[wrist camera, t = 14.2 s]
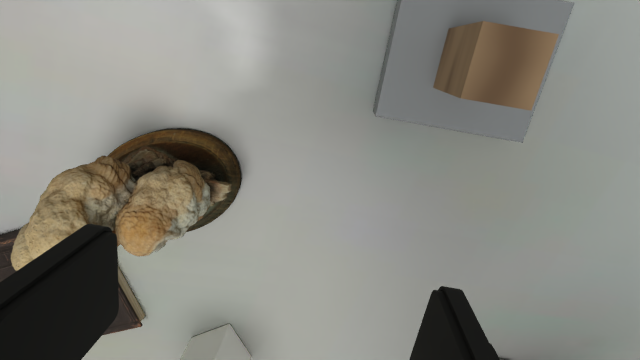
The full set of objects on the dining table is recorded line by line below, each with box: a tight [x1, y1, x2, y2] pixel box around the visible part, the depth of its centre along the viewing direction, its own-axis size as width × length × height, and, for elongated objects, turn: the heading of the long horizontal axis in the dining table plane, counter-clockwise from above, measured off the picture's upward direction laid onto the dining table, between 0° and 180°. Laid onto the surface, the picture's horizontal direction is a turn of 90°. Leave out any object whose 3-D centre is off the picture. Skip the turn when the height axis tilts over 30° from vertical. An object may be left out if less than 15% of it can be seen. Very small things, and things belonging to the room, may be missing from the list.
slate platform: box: [373, 0, 574, 143], centre depth 33 cm, size 14×12×3 cm
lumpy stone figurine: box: [11, 128, 242, 271], centre depth 33 cm, size 18×12×17 cm, turn 111°
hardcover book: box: [0, 229, 145, 335], centre depth 46 cm, size 16×23×2 cm
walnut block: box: [433, 21, 559, 111], centre depth 28 cm, size 5×5×8 cm
